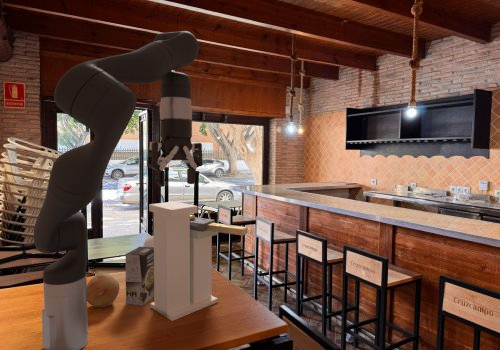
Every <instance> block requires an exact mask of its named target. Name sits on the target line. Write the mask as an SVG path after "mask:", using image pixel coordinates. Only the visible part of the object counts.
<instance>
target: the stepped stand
mask: <svg viewBox="0 0 500 350" xmlns="http://www.w3.org/2000/svg"><path fill="white" fill-rule="evenodd" d="M148 207H149V208H148V211H149V212H151V213H153V236H154V297H153V298H154V301H152V302H150V303H149V305H150V306H149V307H150V308H151V309H153V310H155V311H156V312H158V313H159V314H161V316H164V317H165V318H167V319H168V320H170V321H172V322H173V321H175V320H178V319H180V318H182V317H185V316H187V315H189V314H193V313H194V312H197V311H199V310H202V309H204V308H206V307H209V306H213V305H215V304H216V303H218V302H219V301H218V299H219V298H218V297H216V296H213V295H212V276H213V275H212V272H213V271H212V269H213V268H212V260H213V259H212V256H213V255H212V253H213V252H212V250H213V249H212V248H213V247H212V246H213V244H212V243H213V242H212V240H213V239H212V237H213V236H217V235H219V232H214V231H207V230H206V231H204V232H203V231H196V230H190V215H194V214H198V208H199V207H198V206H197V205H194V204H190V203H185V202H179V201H175V200H173V201H168V202H167V201H166V202H159V203H150V204H148Z"/></svg>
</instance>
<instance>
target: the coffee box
mask: <svg viewBox="0 0 500 350" xmlns="http://www.w3.org/2000/svg"><path fill="white" fill-rule="evenodd" d="M153 298H154V247H143V246H138V247H136V248H134V249H133V250H131V251H129V252H126V253H125V304H127V305H136V306H141V307H143V306H145V305H146V304H147V303H149V302H150V300H152V299H153Z"/></svg>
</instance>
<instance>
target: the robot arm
mask: <svg viewBox="0 0 500 350" xmlns="http://www.w3.org/2000/svg"><path fill="white" fill-rule="evenodd" d="M199 51H200V45H199V42H198V39H197V38H196V36H195V35H194V34H193V33H191V32H190V31H187V30H181V31H170V32H168V31H167V32H161V33H158V34H156V36H155V38H154V39H153V41H151V42H149V43H147V44H145V45H144V46H141V47H140V48H138V49H135V50H134V51H130V52H126V53H122V54H118V55H111V56H106V57H102V58H96V59H92V60H88V61H83V62H81V63H78V64H76V65H75V66H73V67H71V68H70V69H68V70H67V71H66V72H65V73H64V74H63V75H62V76H61V77H60V79H59V80H58V81H57V84H56V86H55V89H54V93H53V100H54V104H56V106H57V108H59V109H60V110H61V111H62V112H63V113H65V114H66V115H67V116H68V117H71V118H72V119H74V120H75V121H77V122H78V123H80V124H82V125H83V126H85V127H86V128H88V129H89V130H91V131H92V133H93V134H94V138H93V140H91V141H89V142H88V143H84V144H82V145H80V146H77V147H74V148H71V149H69V150H66V151H65V152H63V153H62V154H60V155H59V156H58V157H57V158H56V159H55V161H54V162H53V164H52V167H51V171H50V175H49V179H48V183H47V188H46V192H45V193H46V194H45V198H44V202H43V204H42V207H41V208H40V211H39V212H38V216H37V218H36V221H35V224H34V228H33V243H34V246H35V248H36V249H37V251H39V252H40V253H42V254H55V253H62V252H65V251H67V252H66V254H65V255H63V256H62V257H61V258H59V259H58V260H56V261H53V263H51V264H48V265H47V266H46V267H45V268H44V270H43V272H42V281H43V306H44V308H43V309H42V310H41V326H42V347H43V349H44V350H81V349H83V348H85V346H86V345H87V344H88V341H89V331H88V330H89V329H88V328H89V327H88V302H87V284H88V283H87V265H88V263H87V261H88V260H87V254H88V252H87V250H88V249H87V247H88V223H87V219H86V217H85V215H84V213H83V212H81V211H82V210H84V209H85V208H86V207H88V206H89V204H91V203H92V202H93V201H94V199H95V198H96V196H97V194H98V192H99V189H100V187H101V185H102V181H103V180H104V176H105V174H106V171H107V168H108V165H109V163H110V160H111V158H112V155H113V154H114V151H115V149H116V148H117V147H118V144H119V142H120V140H121V138H122V136H123V135H124V133H125V131H126V129H127V127H128V126H129V123H130V121H131V119H132V117H133V114H134V112H135V109H136V107H137V104H138V103H137V102H138V98H137V95H136V93H135V92H134V91H133V90H132V89H131V88H129V87H128V86H127V85H147V84H149V85H150V84H153V83H155V82H158V81H160V103H159V104H160V105H159V125H160V126H159V128H160V129H159V137H160V142H157V141H149V142H148V143H147V159H146V161H147V162H146V165H147V166H146V167H147V168H149V169H152V170H154V171H155V173H154V174H155V184H156V185H157V187H161V188H162V187H163V188H164V187H165V186H166V171H165V168H166V167H167V165H168V164H169V163H170V162H171V161H181V162H183V163H184V164H185V166H186V167H187V169H186V183H187V185H188V184H189V185H194V184H195V182H196V180H197V177H196V176H197V169H198V168H199V167H202V166H203V164H204V161H203V146H202V145H203V144H202V142H193V143H192V141H191V139H192V137H193V109H192V108H193V107H192V87H191V86H192V81H191V78H190V76H189V75H188V74H186V73H185V72H179V71H175V70H177V69H181V68H183V67H186V66H188V65H191V64H192V63H193V62H194V61H195V60H196V58H197V57H198V54H199ZM126 84H127V85H126ZM160 150H161V154H160V156H159V155H158V154H159V151H160ZM191 151H192V154H191Z"/></svg>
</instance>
